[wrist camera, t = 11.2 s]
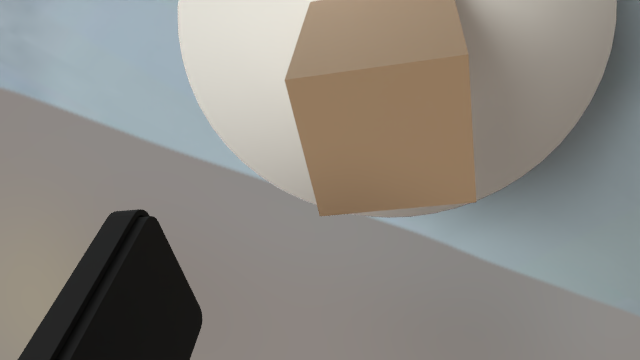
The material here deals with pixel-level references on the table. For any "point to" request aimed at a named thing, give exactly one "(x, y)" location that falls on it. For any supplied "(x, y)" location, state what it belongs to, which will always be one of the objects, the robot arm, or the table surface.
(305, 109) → the lid
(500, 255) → the table surface
